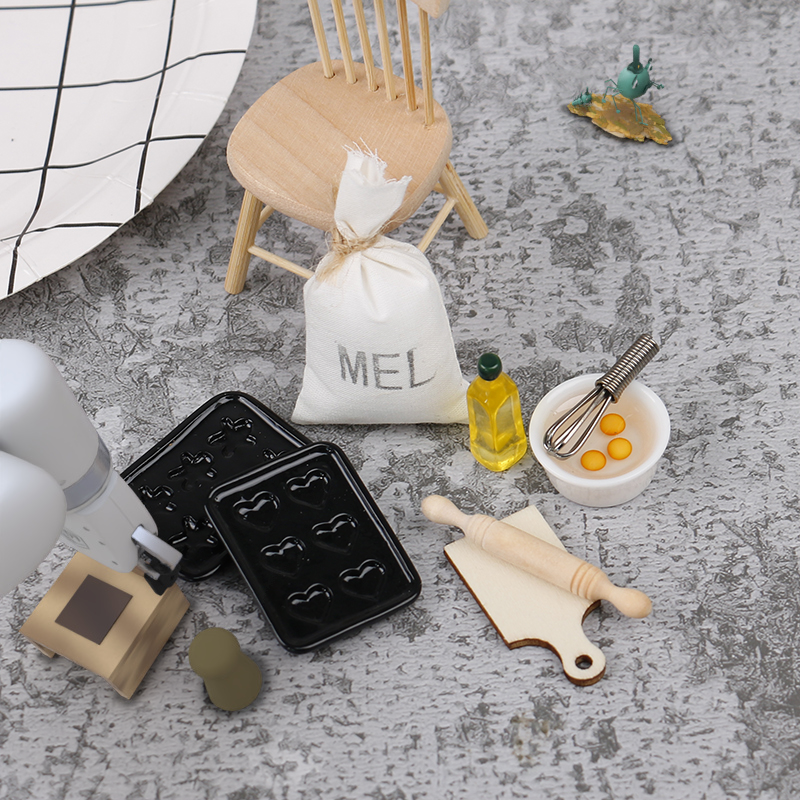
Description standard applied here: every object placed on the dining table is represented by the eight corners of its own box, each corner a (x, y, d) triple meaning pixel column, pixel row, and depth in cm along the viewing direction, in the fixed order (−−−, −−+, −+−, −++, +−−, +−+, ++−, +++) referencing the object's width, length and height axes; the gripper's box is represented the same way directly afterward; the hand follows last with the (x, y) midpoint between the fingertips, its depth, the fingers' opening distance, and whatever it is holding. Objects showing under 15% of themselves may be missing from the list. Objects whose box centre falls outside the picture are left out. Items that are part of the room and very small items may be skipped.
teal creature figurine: (591, 83, 155) (610, 5, 142) (684, 136, 149) (712, 59, 136) (556, 113, 151) (572, 35, 138) (650, 169, 145) (676, 92, 133)
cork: (244, 645, 105) (221, 606, 95) (272, 688, 102) (251, 652, 92) (197, 677, 103) (169, 642, 94) (224, 722, 100) (198, 690, 91)
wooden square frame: (129, 699, 102) (101, 672, 95) (43, 654, 106) (10, 624, 98) (190, 604, 108) (169, 571, 100) (107, 564, 111) (80, 529, 104)
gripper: (-54, 460, 75) (31, 553, 89) (115, 549, 69) (177, 634, 83) (10, 390, 78) (82, 491, 92) (175, 470, 73) (225, 564, 87)
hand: (127, 559), depth 88 cm, fingers open, 9 cm apart
